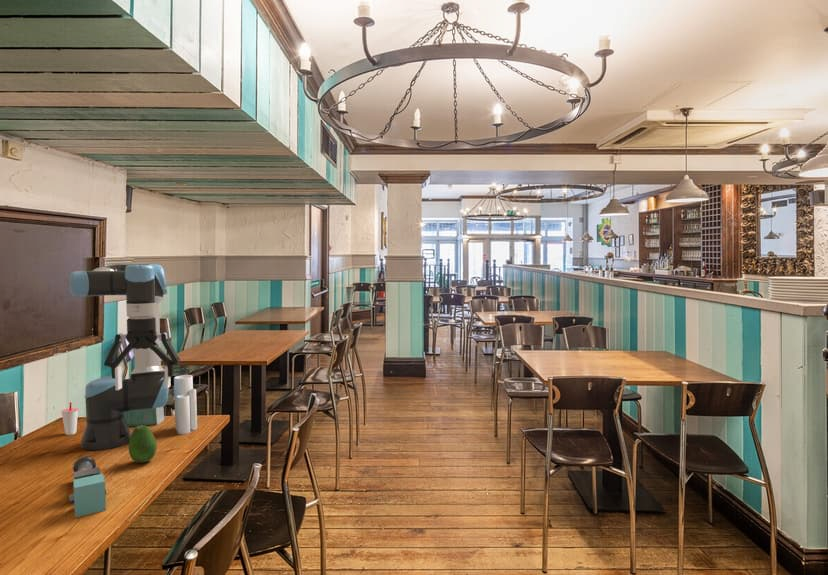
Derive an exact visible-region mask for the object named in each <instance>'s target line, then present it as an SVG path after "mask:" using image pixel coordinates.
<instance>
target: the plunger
mask: <svg viewBox="0 0 828 575" xmlns="http://www.w3.org/2000/svg"><path fill="white" fill-rule="evenodd" d="M96 466H97V464H96V460H95V459H94V457H92V456H89V455H88V456H82V457H79V458H77V459H76V461H75V462H74V463H73V465H72V470H73V473H74V472H77V471H82V470H87V469H92V468H96ZM93 476H94V475H93Z"/></svg>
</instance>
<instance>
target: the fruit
mask: <svg viewBox="0 0 828 575" xmlns="http://www.w3.org/2000/svg"><path fill="white" fill-rule="evenodd" d="M157 448H158V443H157V440H156V437H155V435H154V434H153V432H152V430H151V429H150V427H148V425H140V426H135V428H134V429H133V430H132V432H131V439H130V441H129V444H128V453H129V457H130V458H131V459H132V460H133V461H134V462H135V463H139V464H140V463H146V462H149V461H150V460H152V459H153V458H154V456H156V453H157Z"/></svg>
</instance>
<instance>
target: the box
mask: <svg viewBox="0 0 828 575" xmlns="http://www.w3.org/2000/svg"><path fill="white" fill-rule="evenodd" d="M164 407H165V406H164ZM164 407H159V408H154V409H145V410H136V411H127V412H124V418H125V421H126V423H127V426H128V427H137V426H140V425H144V426H158V425H159V424H161V423H162V422H164V420H165V412H164V411H165V410H164Z"/></svg>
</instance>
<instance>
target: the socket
mask: <svg viewBox="0 0 828 575" xmlns="http://www.w3.org/2000/svg"><path fill="white" fill-rule="evenodd" d="M72 481H73V482H72V483H73V485H72V486H73V494H74V502H73V506H74V508H73V509H74V515H75V516H74V518H76V519H77V518H79V517H83V516H87V515H91V514H96V513H99V512H104V511H107V502H106V498H107V497H106V495H105V489H106V480H105V476H104V473H101V474H99V475H94V476H89V477H84V478H79V479H75V480H74V479H73V480H72Z"/></svg>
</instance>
